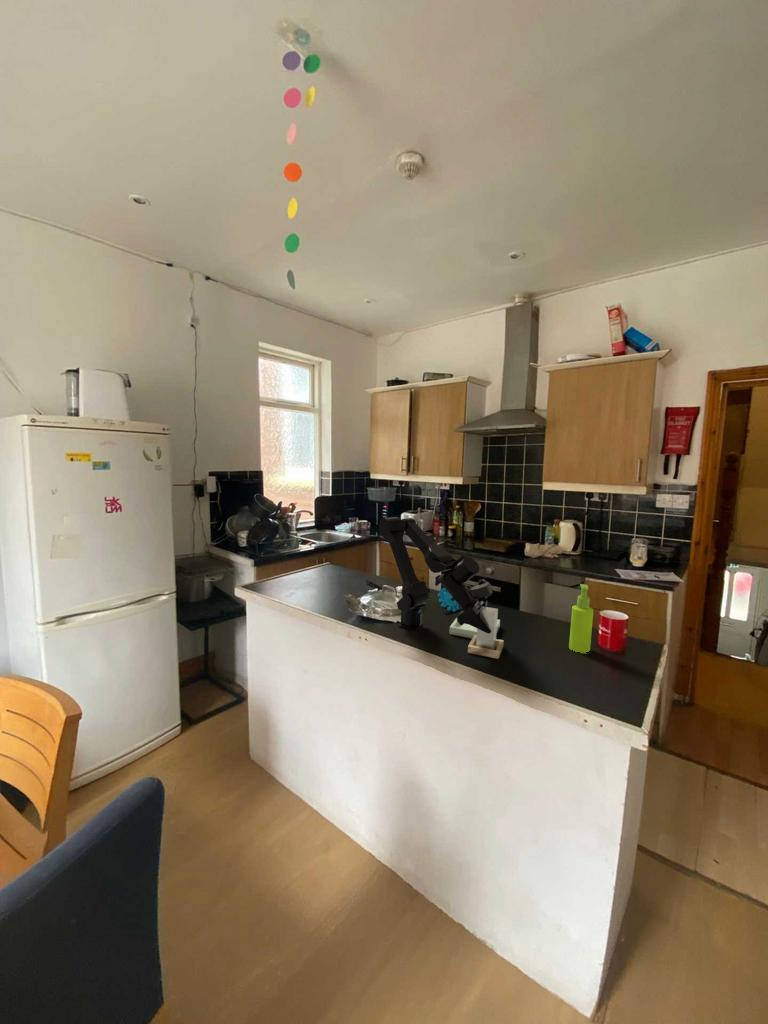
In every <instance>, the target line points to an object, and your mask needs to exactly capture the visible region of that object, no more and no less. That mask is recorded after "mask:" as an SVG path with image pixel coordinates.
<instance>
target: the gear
mask: <svg viewBox="0 0 768 1024" xmlns="http://www.w3.org/2000/svg"><path fill="white" fill-rule="evenodd" d="M438 591H439V592H438V594H437V597H440V598H439V599H438V602H439V603H442V604H440V607H441V608H445V607H446V606H448V607H447V608H446V610H447V611H448V612H449V611H452V612H453V613H455V612H456V611H459V610H460V606H459V605H458V603H457V602H456V601H455V600H454V601H452V600H451V598H452V596H451V595H450V594H449V593H448V591H447V590H446V589H445V588H444V587H442V588H441V589H439V590H438Z"/></svg>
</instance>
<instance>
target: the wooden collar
mask: <svg viewBox="0 0 768 1024" xmlns="http://www.w3.org/2000/svg"><path fill="white" fill-rule="evenodd" d="M476 639H477V635H474V637H473V638H471V640H470V642H469V644H468V646H467V653H468V654H473V655H477V656H483V657H487V658H492V659H497V660H498V659H499V658H500V656H501V653H502V651H503V648H504V640H503V639H497V638H496V648H495V650H492V649H487V648H482V647H477V646H476Z"/></svg>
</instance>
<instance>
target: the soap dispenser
mask: <svg viewBox="0 0 768 1024" xmlns="http://www.w3.org/2000/svg"><path fill="white" fill-rule="evenodd" d="M579 587H580V589H581V590H580V594H579V595H578V596H577V601H576V605H575V604H574V605H572V607H571V619H570V630H569V631H570V632H569V641H568V642H569V643H568V648H569V650H570V651H572V650H573V652H574V651H575V653H577V652H580V653H579V654H587V653H586V652H589V651H591V641H592V631H593V630H592V629H593V622H594V621H593V619H594V609H593V608H592V607H590V602H591V598H590V596H588V591H589V586H588V584H585V583H584V584H583V583H580V584H579ZM589 653H590V652H589Z"/></svg>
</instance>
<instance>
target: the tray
mask: <svg viewBox="0 0 768 1024" xmlns="http://www.w3.org/2000/svg"><path fill="white" fill-rule="evenodd" d="M500 627H501V619H498V618H497V632H496V635H497V633H498V632H499V630H500ZM449 635H451V636H452V635H453V636H457V637H462V638H468V639H472V638H473V637H474V635H477V628H475V627H473V626H471V625H469V624H463V625H462V626H461V625H460V624H459V623H458V622H457V617H456V618H455V619H454V620H453V622H452V623H451V625H450V626H449Z"/></svg>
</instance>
